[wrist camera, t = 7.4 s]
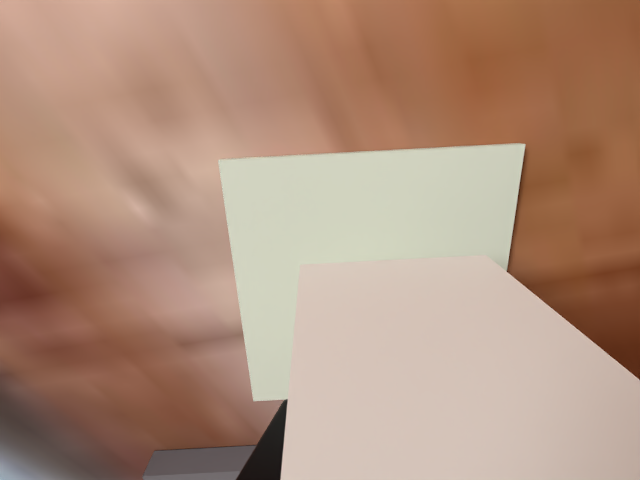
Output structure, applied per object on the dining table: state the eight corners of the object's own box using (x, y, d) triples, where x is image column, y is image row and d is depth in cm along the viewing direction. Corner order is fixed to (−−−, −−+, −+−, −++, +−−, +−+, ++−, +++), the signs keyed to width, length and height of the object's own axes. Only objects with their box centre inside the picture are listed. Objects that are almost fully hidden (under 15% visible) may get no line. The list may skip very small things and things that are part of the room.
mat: (518, 143, 12) (525, 144, 11) (484, 381, 15) (489, 388, 15) (220, 158, 12) (218, 160, 11) (255, 394, 15) (253, 401, 15)
